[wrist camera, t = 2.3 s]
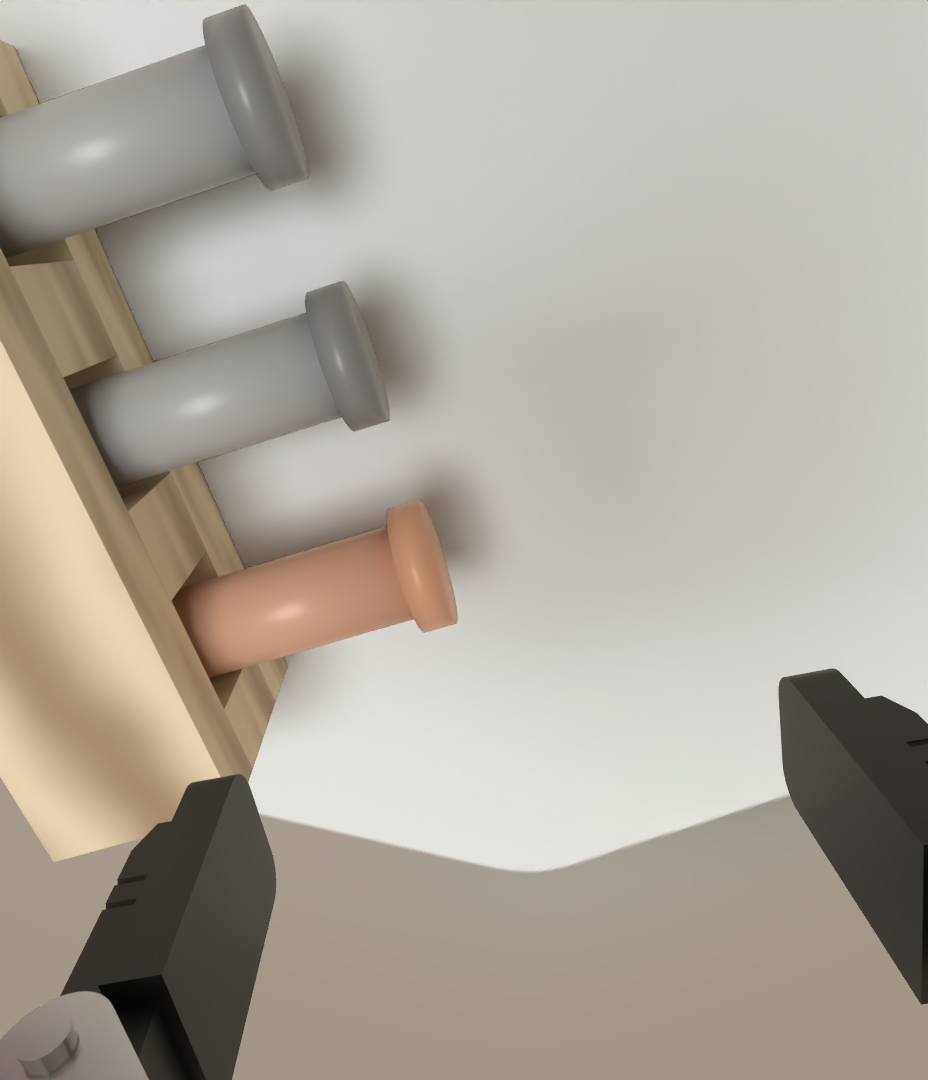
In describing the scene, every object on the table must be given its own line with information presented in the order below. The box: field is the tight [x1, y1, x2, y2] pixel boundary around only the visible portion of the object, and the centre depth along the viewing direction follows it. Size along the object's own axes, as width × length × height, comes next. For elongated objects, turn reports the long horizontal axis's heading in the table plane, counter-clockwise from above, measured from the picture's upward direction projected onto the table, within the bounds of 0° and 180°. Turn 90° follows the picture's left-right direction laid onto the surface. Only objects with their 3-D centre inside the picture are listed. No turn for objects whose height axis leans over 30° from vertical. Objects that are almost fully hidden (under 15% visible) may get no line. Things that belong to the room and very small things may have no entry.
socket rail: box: [0, 41, 288, 862], centre depth 29 cm, size 7×26×10 cm, turn 17°
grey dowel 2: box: [69, 281, 390, 487], centre depth 28 cm, size 11×5×5 cm, turn 107°
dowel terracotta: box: [172, 499, 458, 678], centre depth 31 cm, size 11×5×5 cm, turn 107°
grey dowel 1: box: [0, 5, 309, 259], centre depth 25 cm, size 11×5×5 cm, turn 107°
